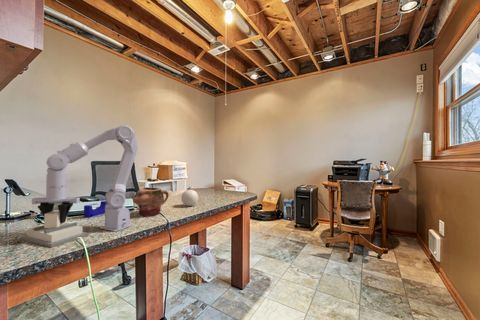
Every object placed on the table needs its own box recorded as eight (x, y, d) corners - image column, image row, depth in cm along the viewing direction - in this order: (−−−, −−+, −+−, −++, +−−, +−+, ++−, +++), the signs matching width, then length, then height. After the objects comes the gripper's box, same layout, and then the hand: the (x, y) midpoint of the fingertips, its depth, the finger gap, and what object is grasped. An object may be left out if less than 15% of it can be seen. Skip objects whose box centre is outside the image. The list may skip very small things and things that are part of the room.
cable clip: (100, 211, 118) (100, 200, 118) (107, 212, 117) (107, 201, 117) (81, 217, 106) (81, 205, 106) (89, 218, 105) (89, 206, 105)
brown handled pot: (159, 208, 127) (160, 185, 127) (174, 211, 121) (174, 187, 121) (127, 216, 110) (128, 189, 110) (142, 220, 104) (143, 191, 104)
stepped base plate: (88, 235, 82) (88, 223, 82) (51, 247, 71) (51, 234, 71) (59, 229, 88) (59, 218, 88) (21, 238, 77) (21, 226, 77)
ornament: (185, 203, 142) (186, 185, 142) (200, 204, 140) (200, 186, 140) (178, 207, 132) (178, 187, 132) (194, 208, 130) (194, 188, 130)
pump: (69, 221, 85) (69, 208, 84) (57, 227, 77) (57, 213, 77) (57, 221, 84) (58, 209, 84) (44, 227, 76) (44, 214, 76)
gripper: (84, 185, 85) (83, 219, 85) (41, 185, 82) (41, 220, 82) (73, 187, 78) (73, 224, 78) (27, 187, 75) (26, 226, 75)
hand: (56, 222), depth 80 cm, fingers closed on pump, 4 cm apart
